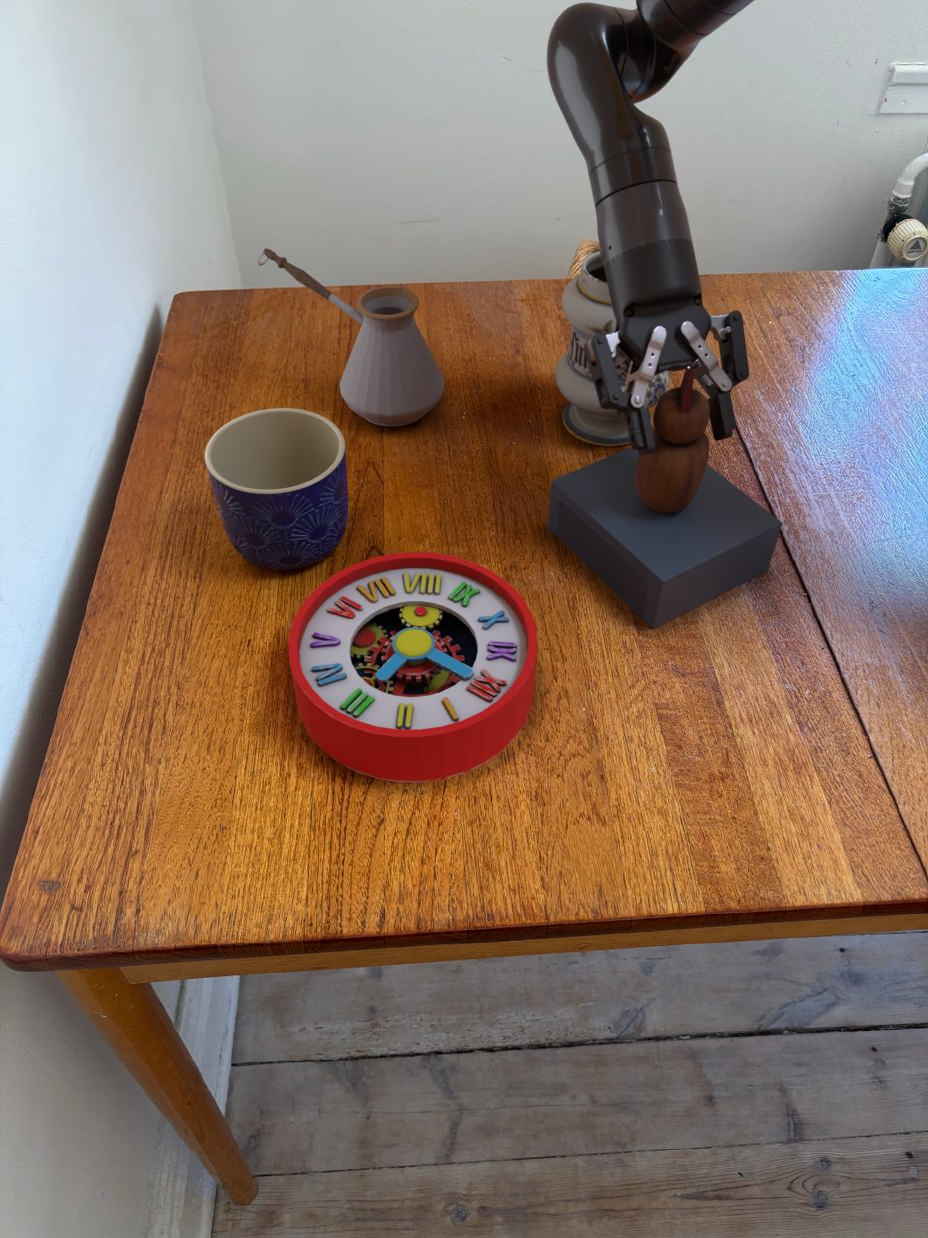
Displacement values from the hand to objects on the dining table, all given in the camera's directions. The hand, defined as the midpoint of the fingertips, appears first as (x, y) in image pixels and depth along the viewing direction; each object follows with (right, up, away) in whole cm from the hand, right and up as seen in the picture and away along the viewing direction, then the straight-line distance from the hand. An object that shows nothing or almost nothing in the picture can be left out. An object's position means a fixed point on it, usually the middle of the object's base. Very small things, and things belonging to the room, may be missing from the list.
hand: (686, 445), depth 86 cm
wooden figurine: (0, -4, +7) cm, 8 cm away
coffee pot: (-31, +11, +28) cm, 43 cm away
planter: (-36, -7, +12) cm, 38 cm away
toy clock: (-23, -20, -1) cm, 31 cm away
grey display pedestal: (-1, -8, +11) cm, 13 cm away
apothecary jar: (-3, +7, +25) cm, 26 cm away
